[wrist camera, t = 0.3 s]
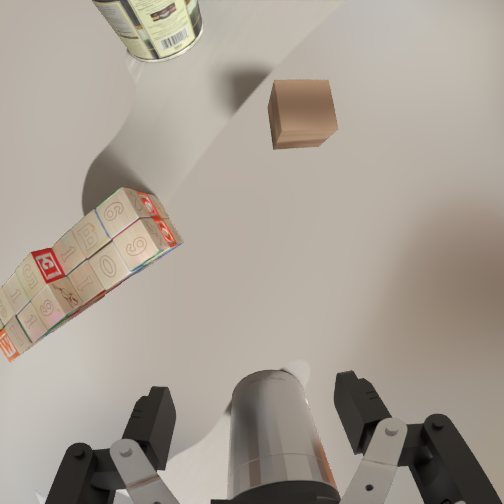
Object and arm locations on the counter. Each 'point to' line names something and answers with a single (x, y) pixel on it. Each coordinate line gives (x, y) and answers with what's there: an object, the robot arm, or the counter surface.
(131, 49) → the coffee can
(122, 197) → the stack of blocks
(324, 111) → the walnut block
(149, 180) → the counter surface
